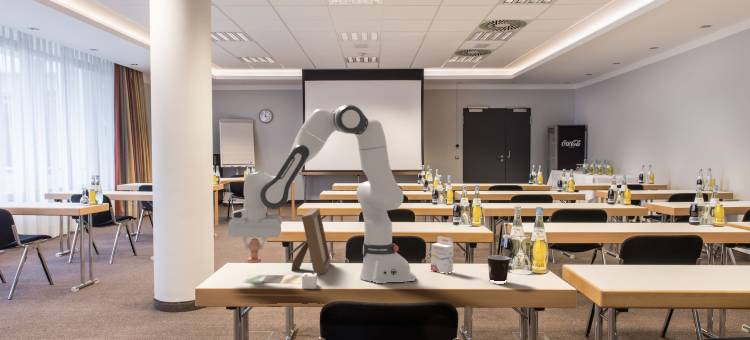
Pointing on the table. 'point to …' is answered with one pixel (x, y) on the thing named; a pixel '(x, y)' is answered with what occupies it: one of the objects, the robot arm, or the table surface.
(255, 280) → the track board
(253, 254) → the pawn
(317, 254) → the photo frame
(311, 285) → the die
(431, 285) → the table surface
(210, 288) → the table surface
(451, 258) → the ink cartridge box
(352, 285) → the table surface
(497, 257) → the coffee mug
